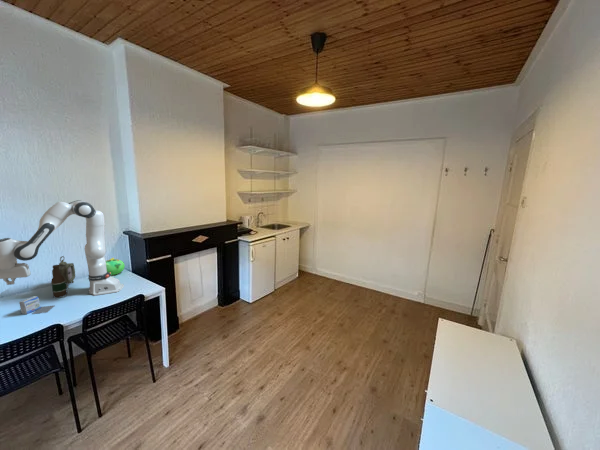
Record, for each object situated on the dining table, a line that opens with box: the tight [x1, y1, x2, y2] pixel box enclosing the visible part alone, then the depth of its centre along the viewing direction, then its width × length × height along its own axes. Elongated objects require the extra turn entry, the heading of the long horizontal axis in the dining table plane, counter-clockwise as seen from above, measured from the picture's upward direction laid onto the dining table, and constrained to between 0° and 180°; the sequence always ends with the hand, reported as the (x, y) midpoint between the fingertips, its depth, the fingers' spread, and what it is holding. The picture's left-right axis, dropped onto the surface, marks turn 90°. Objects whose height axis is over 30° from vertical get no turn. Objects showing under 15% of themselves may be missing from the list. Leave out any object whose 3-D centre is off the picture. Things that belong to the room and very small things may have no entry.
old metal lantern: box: [51, 255, 76, 289], centre depth 203 cm, size 14×9×25 cm, turn 23°
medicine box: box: [18, 295, 42, 315], centre depth 169 cm, size 8×4×9 cm, turn 168°
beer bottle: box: [50, 264, 68, 299], centre depth 188 cm, size 8×8×24 cm
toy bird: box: [105, 257, 126, 276], centre depth 230 cm, size 18×17×15 cm
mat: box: [31, 305, 56, 315], centre depth 171 cm, size 8×9×1 cm
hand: (10, 284), depth 163 cm, fingers closed
